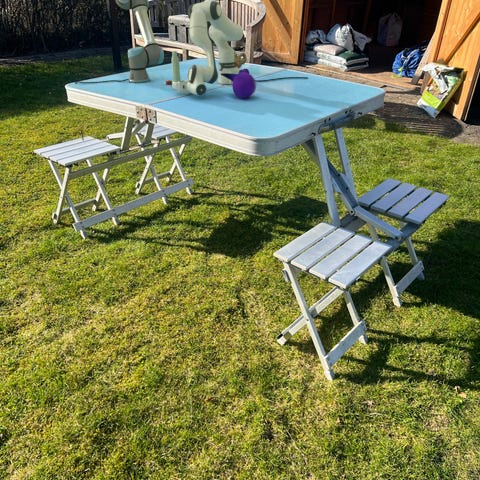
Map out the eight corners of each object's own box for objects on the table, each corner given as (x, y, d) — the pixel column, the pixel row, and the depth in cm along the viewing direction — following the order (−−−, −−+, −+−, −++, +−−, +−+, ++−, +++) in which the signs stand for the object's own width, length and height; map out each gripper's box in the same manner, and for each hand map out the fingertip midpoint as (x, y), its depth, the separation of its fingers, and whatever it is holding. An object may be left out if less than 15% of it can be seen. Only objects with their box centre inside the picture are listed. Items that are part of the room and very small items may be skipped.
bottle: (181, 89, 312) (178, 51, 300) (174, 89, 312) (170, 51, 299) (181, 87, 316) (178, 50, 304) (174, 88, 316) (170, 50, 303)
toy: (241, 90, 304) (255, 103, 283) (217, 85, 296) (230, 99, 276) (247, 66, 296) (262, 78, 275) (223, 61, 288) (236, 73, 268)
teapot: (227, 72, 362) (226, 52, 355) (220, 70, 371) (219, 51, 363) (249, 69, 371) (249, 50, 364) (242, 67, 380) (242, 48, 372)
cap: (166, 83, 329) (165, 80, 328) (172, 83, 330) (171, 80, 328) (165, 84, 326) (165, 81, 324) (172, 84, 326) (171, 81, 325)
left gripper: (149, -8, 306) (153, 27, 317) (160, -7, 287) (163, 30, 298) (160, -8, 309) (163, 26, 320) (171, -7, 290) (174, 29, 300)
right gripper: (205, 78, 294) (196, 75, 305) (176, 82, 286) (168, 78, 296) (206, 88, 297) (197, 85, 308) (177, 92, 289) (169, 88, 300)
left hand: (163, 28), depth 309 cm, fingers open, 13 cm apart
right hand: (183, 82), depth 302 cm, fingers open, 8 cm apart
